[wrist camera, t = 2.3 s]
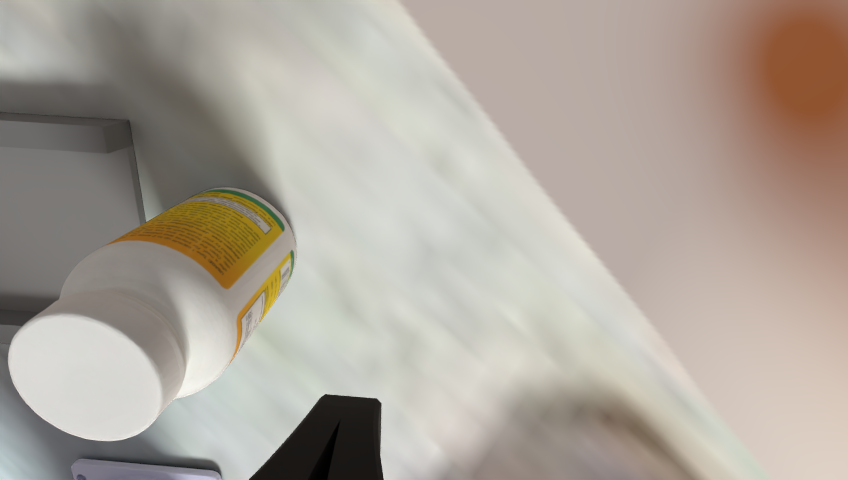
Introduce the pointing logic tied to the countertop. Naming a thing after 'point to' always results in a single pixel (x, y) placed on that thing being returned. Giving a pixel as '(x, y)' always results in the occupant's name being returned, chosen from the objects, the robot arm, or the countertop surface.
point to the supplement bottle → (153, 315)
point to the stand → (59, 204)
